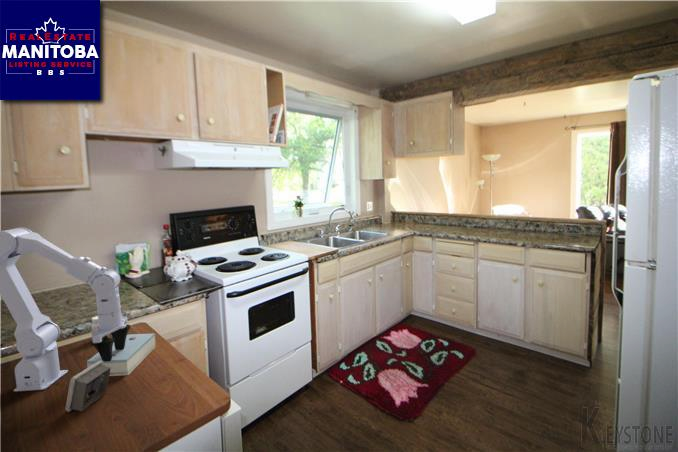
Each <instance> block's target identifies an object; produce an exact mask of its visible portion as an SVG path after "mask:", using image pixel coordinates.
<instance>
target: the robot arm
mask: <svg viewBox="0 0 678 452" xmlns="http://www.w3.org/2000/svg"><path fill="white" fill-rule="evenodd" d="M23 254H37V255H39V256H41V257H42V258H44V259H47V260H49V261H51V262H54V263H56V264H58V265H60V266H61V267H64V268H65V273H66V274H68V275H69V276H71V277H73V278H74V279H77V280H79V281H81V282H83V283H84V284H87V285H90V289H91V290H92V292H93V293H95V300H96V301H95V302H96V308H97V311H96V312H97V316H98V322H99V328H98V330H97V331H96V333H95V335H94V336H92V335H91V341H90V344H91V346H93V347H94V349H96V350H97V353H98V352H99V354H100V356H101V358H102V361H103V362H107V361H111V360H112V347H113V342H114V346H115V349H116V350H123V349H124V347H125V341H126V337H127V335H128V333H129V331H130V328H131V325H130V324H127V323H128V316H122V309H121V307H122V306H121V298H120V291H119V284H120V283H121V278H122V277H121V275H120V274H119V272H117V271H116V270H115V269H113V268H112V269H111V268H110V269H108V268H107V267H106V266H103V267H102V266H101V265H99V264H97V263H95V262H94V261H92V258H90V257H88V256H86V257H85V256H73V255H72V254H70V253H68V252H66V251H65V250H64V249H62V248H60V247H58V246H56V245H55V244H53V243H51V242H50V241H49V240H47V239H45V238H44V237H42V235H40V234H39V233H38V232H33V231H32V230H31V229H29V228H26V227H14V228H11V229H7V230H0V297H1V298H2V300H3V302H4V303H5V306H6V307H7V309H8V311H9V313H10V315H11V316H12V318H13V319H14V321H15V323H16V327H15V331H14V333H13V335H14V337H15V340H16V343H15V344H16V350H17V352H18V353H19V354H21V355H22V356H23V357H22V358H21V360H20V361H19V362H18V363H17V364H16V365H15V367H14V376H15V384H16V388H14V389H13V392H26V391H27V392H28V391H43V390H46V389H47V388H48V387H50V386H51V385H52V384H54V383H56V382H57V381H58V380H59V379H60V378H62V377H63V376H64V375H66V374H67V373H68V372H69V370H68V369H63V370H62V369H61V368H60V361H59V360H60V359H59V352H58V351H59V350H58V344H57V340H58V338H59V337H60V335H61V328H60V327H59V325H57V324H56V323H54V321H52V320H51V317H50V316H48V315H45V314H42V312H41V311H40V308H39V307H38V305H37V303H36V301H35V300H34V298H33V295H32V294H31V292H30V290H29V288H28V286H27V285H26V282H25V281H24V279H23V277H22V276H21V274H20V272H19V270H18V269H17V266H16V263H17V261H18V260H19V258H20V257H21V255H23ZM109 335H111V337H109Z"/></svg>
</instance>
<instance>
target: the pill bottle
mask: <svg viewBox="0 0 678 452" xmlns="http://www.w3.org/2000/svg"><path fill="white" fill-rule="evenodd" d="M98 328H99V322H98V315H96V316H93V317H92V318H91V324H90V329H91V337H92V336H94V335H95V333H96V331H97V330H98Z"/></svg>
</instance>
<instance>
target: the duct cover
mask: <svg viewBox="0 0 678 452" xmlns="http://www.w3.org/2000/svg"><path fill="white" fill-rule="evenodd" d="M154 336H155V337H156V334H155V333H137V334H136V333H135V334H134V333H131V334H127V337H126V341H125V347H124V349H123V350H116V349H115V346H114V342H113V347H112V360H111V361H107V362H104V363H119V362H128V361H129V360H130V359H131V358H132V357H133V356H134V355H135V354H136V353H137V352H138V351H139V350H140V349H141V348H142V347H143V346H144V345H145V344H146V343H148V342H149V341H150V340H151V339H152V338H153V337H154ZM99 360H100V361H102V358H101V356H100V354H99V352H98V351H97V353H96V354H95V355H93V356H92V357H90V358H89V359H87V361H86V365H87V364H95V363H96V362H98V361H99Z"/></svg>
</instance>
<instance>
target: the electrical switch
mask: <svg viewBox="0 0 678 452" xmlns="http://www.w3.org/2000/svg"><path fill="white" fill-rule="evenodd" d="M103 363H104V362H103V361H100V360H99V361H98V362H96V363H95V364H93V365H91V366H90V367H88V368H85V369H83V370H82V371H81V372H79V373H77V374H75V375H74V376H72V377H71V379H70V380H69V385H68V386H69V387H68V391H67V398H66V403H65V411H66V412H67V413H70V412H71V411H73V410H74V411H79V412H83V411H84V410H85V409H88V407H89V406H91V405H92V404H94V403H95V402H97V401H98V400H99V399H100V398H102V397H103V396H105V394H106V393H107V391H108V390H107V389H108V383H109V378H110V376H109V374H110V369H111V368H110V367H107V366H105V365H103ZM103 375H104V376H103ZM90 404H91V405H90Z"/></svg>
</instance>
